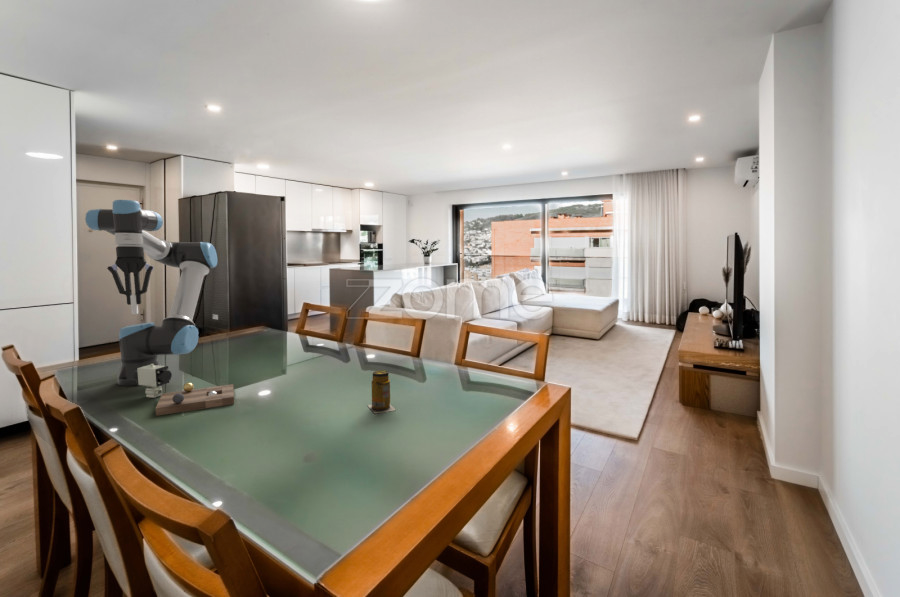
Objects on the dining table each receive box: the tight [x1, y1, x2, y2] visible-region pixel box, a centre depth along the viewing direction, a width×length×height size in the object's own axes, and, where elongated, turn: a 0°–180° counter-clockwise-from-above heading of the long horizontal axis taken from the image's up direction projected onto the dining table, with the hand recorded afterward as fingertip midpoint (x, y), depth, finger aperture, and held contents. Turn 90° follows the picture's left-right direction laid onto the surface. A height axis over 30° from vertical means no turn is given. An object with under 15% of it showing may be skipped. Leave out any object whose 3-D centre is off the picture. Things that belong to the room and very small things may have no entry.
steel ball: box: [207, 391, 217, 396], centre depth 144 cm, size 3×3×3 cm
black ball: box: [172, 393, 184, 403], centre depth 134 cm, size 3×3×3 cm
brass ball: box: [182, 382, 195, 392], centre depth 146 cm, size 3×3×3 cm
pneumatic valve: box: [134, 364, 172, 399], centre depth 148 cm, size 6×12×12 cm, turn 78°
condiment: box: [367, 369, 396, 414], centre depth 136 cm, size 7×8×12 cm
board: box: [155, 383, 235, 417], centre depth 142 cm, size 16×22×2 cm
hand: (135, 313), depth 144 cm, fingers closed
